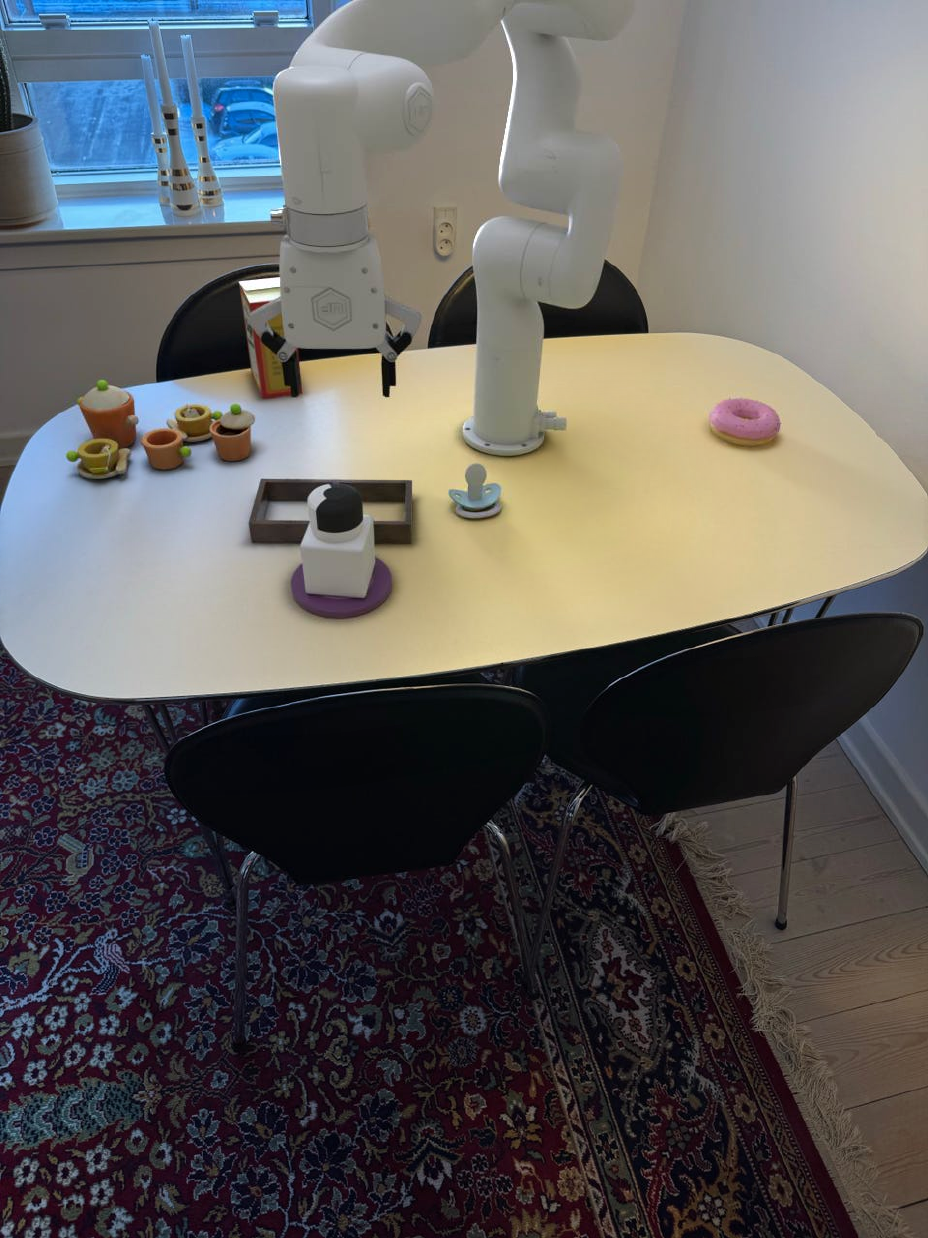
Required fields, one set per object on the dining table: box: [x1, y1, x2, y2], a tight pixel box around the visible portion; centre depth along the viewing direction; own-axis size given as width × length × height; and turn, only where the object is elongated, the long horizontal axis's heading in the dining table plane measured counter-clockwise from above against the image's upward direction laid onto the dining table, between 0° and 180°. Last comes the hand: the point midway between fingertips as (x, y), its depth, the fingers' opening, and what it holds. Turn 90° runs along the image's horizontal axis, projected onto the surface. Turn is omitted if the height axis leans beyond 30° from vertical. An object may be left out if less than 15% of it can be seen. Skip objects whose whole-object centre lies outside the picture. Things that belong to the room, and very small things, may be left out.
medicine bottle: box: [299, 483, 376, 598], centre depth 98 cm, size 7×7×12 cm
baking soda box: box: [238, 277, 303, 400], centre depth 138 cm, size 10×6×16 cm
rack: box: [248, 478, 413, 544], centre depth 112 cm, size 20×11×3 cm, turn 92°
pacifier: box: [447, 462, 503, 519], centre depth 114 cm, size 7×6×6 cm
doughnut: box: [708, 396, 782, 447], centre depth 134 cm, size 11×11×4 cm
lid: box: [290, 556, 393, 619], centre depth 103 cm, size 12×12×1 cm
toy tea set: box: [65, 379, 256, 480], centre depth 123 cm, size 26×16×10 cm, turn 106°
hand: (341, 391), depth 91 cm, fingers open, 9 cm apart
